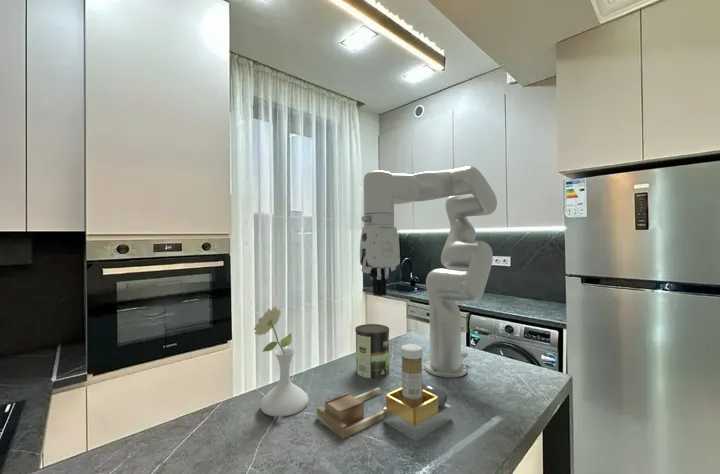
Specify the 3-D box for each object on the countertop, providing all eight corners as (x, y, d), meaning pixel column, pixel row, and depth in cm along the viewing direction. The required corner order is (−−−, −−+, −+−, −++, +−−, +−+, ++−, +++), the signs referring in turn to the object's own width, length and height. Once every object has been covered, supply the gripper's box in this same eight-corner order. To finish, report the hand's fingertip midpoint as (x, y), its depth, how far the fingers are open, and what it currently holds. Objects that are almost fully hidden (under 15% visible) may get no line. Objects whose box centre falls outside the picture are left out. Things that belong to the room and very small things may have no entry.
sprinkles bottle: (423, 405, 69) (422, 344, 69) (422, 416, 65) (421, 351, 65) (402, 402, 70) (402, 342, 71) (400, 413, 66) (399, 349, 66)
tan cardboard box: (347, 410, 73) (347, 391, 73) (364, 421, 68) (364, 402, 68) (324, 420, 69) (324, 400, 69) (340, 432, 64) (340, 411, 64)
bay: (378, 397, 81) (378, 383, 81) (406, 412, 74) (405, 397, 74) (316, 423, 69) (316, 407, 69) (342, 445, 62) (342, 427, 62)
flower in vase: (292, 392, 84) (292, 299, 84) (318, 409, 75) (317, 304, 76) (244, 411, 75) (245, 306, 75) (268, 432, 66) (268, 313, 67)
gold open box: (419, 407, 76) (419, 377, 76) (451, 424, 69) (451, 391, 69) (383, 426, 68) (383, 393, 68) (415, 447, 61) (415, 410, 61)
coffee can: (391, 369, 99) (390, 324, 99) (387, 383, 89) (387, 333, 89) (359, 366, 101) (359, 322, 101) (352, 380, 91) (351, 331, 91)
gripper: (366, 219, 71) (366, 301, 71) (410, 221, 80) (411, 293, 80) (346, 221, 77) (346, 296, 76) (389, 223, 86) (390, 290, 86)
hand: (379, 294), depth 78 cm, fingers closed
